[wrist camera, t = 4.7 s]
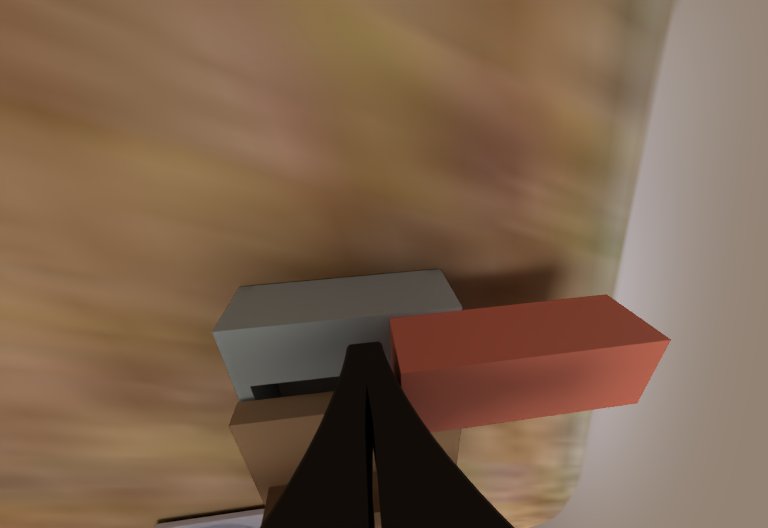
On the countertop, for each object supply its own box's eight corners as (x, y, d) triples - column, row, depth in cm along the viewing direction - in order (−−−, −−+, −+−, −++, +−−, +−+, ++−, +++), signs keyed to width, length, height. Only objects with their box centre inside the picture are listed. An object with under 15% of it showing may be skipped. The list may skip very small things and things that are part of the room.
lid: (444, 498, 17) (458, 555, 15) (286, 522, 17) (276, 585, 14) (456, 376, 13) (479, 433, 10) (237, 402, 12) (212, 468, 10)
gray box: (430, 448, 20) (443, 500, 18) (296, 467, 20) (288, 523, 17) (440, 268, 14) (462, 306, 11) (239, 286, 13) (211, 332, 10)
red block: (585, 351, 13) (636, 403, 11) (391, 375, 12) (402, 436, 10) (606, 294, 12) (670, 339, 9) (389, 318, 11) (401, 373, 9)
